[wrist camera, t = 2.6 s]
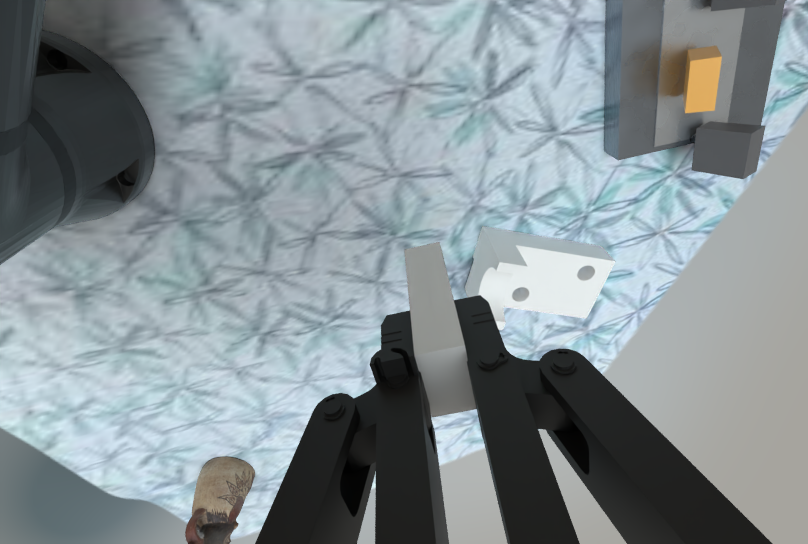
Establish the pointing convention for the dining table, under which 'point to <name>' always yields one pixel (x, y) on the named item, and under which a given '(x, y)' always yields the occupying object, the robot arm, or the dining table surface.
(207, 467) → the figurine
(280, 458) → the dining table surface
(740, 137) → the dark grey square block
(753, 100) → the grey rectangular tray
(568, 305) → the bracket
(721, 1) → the dark grey rectangular block
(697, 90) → the orange wooden brick
